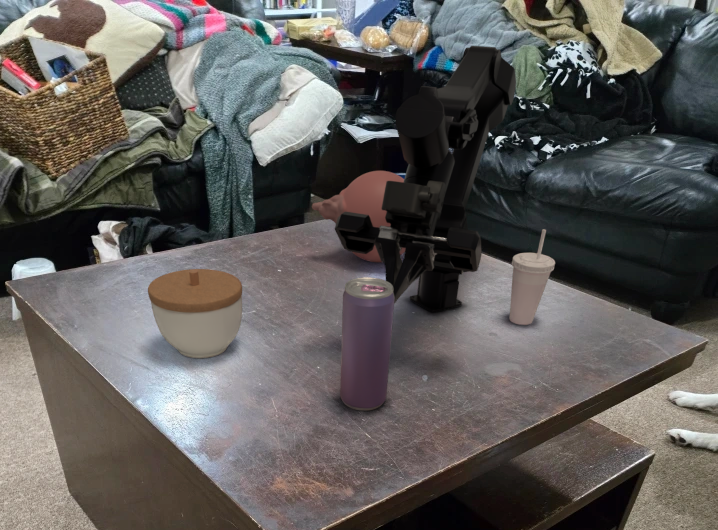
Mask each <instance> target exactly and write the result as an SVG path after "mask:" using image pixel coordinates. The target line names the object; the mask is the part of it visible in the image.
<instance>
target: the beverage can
mask: <svg viewBox="0 0 718 530" xmlns="http://www.w3.org/2000/svg"><path fill="white" fill-rule="evenodd" d="M393 290H394V288H393V285H392V284H391V283H389V282H387V281H386V279H383V278H378V277H358V278H357V277H356V278H353V279H350V280H348V281H347V282H346V283H345V284H344V290H343V294H342V313H341V314H342V315H341V347H340V348H341V349H340V384H339V385H340V386H339V397H340V399H341V401H342V402H343V404H344V405H345V406H346V407H348V408H350V409H353V410H355V411H362V412H364V411H365V412H366V411H368V412H369V411H373V410H376V409H379V408H380V407H381V406H383V404H384V403H385V401H386V400H387V395H388V383H389V372H390V371H389V370H390V369H389V368H390V359H391V345H392V334H393V321H394V309H395V303H394V299H395V297H394V293H393Z"/></svg>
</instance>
